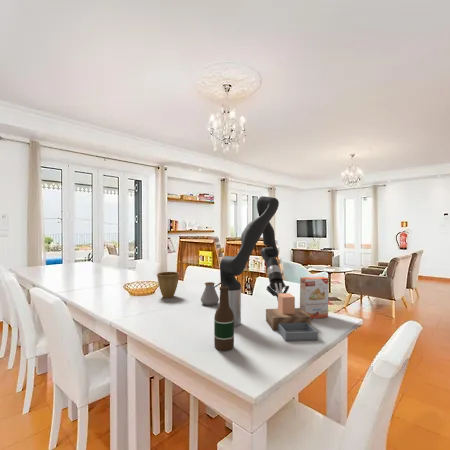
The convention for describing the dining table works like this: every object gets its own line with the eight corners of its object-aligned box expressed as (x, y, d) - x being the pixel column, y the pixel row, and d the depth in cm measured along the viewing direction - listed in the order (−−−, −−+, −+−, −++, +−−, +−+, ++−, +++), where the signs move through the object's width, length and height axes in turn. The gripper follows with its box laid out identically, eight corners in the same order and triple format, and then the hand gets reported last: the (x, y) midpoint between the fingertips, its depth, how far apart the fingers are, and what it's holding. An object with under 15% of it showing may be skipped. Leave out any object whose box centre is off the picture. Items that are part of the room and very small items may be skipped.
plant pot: (155, 295, 198) (155, 272, 199) (175, 293, 205) (175, 271, 205) (159, 300, 185) (159, 275, 185) (181, 298, 191) (181, 274, 191)
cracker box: (305, 319, 147) (305, 279, 147) (299, 316, 152) (299, 277, 153) (329, 317, 150) (329, 277, 151) (322, 314, 156) (322, 276, 156)
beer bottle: (233, 343, 117) (233, 284, 117) (234, 351, 109) (234, 288, 109) (214, 343, 117) (214, 284, 117) (214, 351, 109) (214, 288, 109)
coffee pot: (206, 307, 169) (206, 282, 169) (197, 303, 178) (197, 279, 178) (235, 302, 181) (235, 278, 181) (225, 298, 191) (225, 276, 191)
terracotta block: (282, 314, 137) (282, 297, 137) (278, 309, 145) (278, 293, 145) (294, 313, 137) (294, 297, 137) (289, 308, 145) (289, 293, 145)
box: (285, 341, 119) (285, 333, 119) (277, 331, 131) (277, 323, 131) (317, 340, 120) (317, 331, 120) (307, 330, 132) (307, 322, 132)
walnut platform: (273, 330, 131) (273, 317, 131) (265, 320, 145) (265, 309, 145) (310, 329, 133) (310, 316, 133) (300, 319, 147) (300, 308, 147)
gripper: (264, 271, 159) (270, 298, 146) (287, 270, 160) (295, 298, 148) (262, 279, 164) (267, 306, 152) (284, 278, 165) (291, 305, 153)
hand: (281, 302), depth 150 cm, fingers closed
